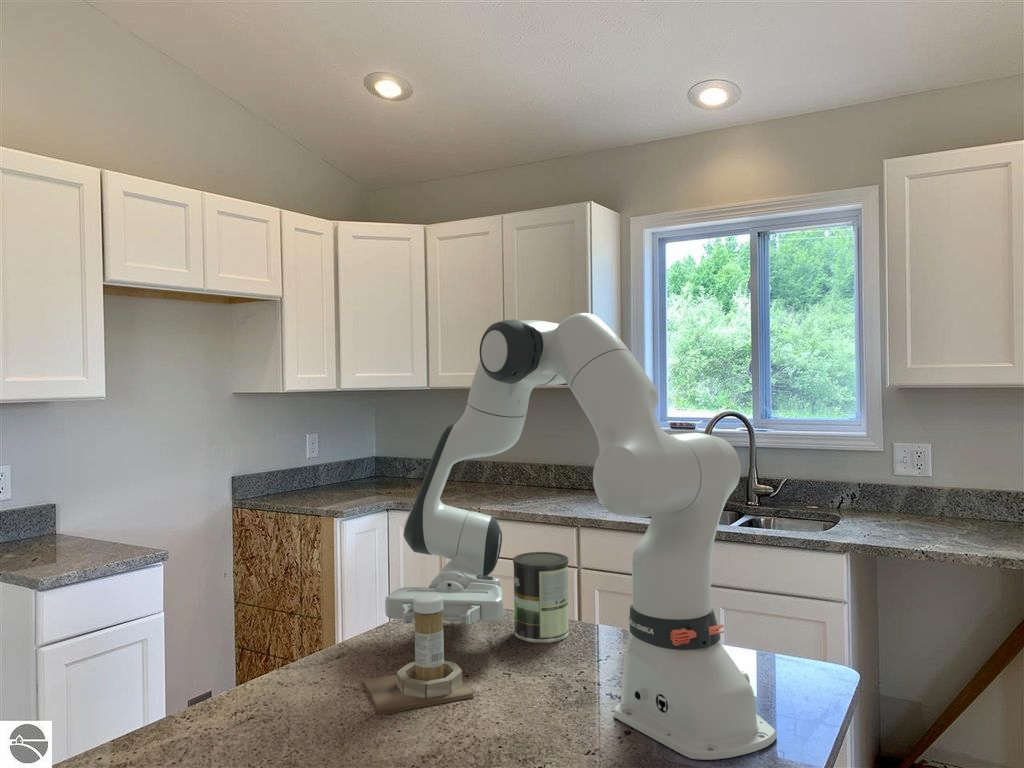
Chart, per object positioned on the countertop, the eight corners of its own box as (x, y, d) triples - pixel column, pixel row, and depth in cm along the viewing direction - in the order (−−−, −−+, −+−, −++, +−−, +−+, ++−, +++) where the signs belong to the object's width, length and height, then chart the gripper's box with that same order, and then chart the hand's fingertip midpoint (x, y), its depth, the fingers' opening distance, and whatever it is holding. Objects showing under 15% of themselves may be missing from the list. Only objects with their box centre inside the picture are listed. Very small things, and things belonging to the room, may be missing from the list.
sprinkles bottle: (438, 676, 118) (436, 591, 118) (449, 686, 114) (447, 598, 114) (410, 681, 116) (409, 595, 116) (420, 692, 112) (419, 603, 112)
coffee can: (511, 642, 135) (510, 564, 134) (516, 624, 145) (515, 551, 145) (568, 644, 134) (567, 565, 133) (570, 625, 144) (569, 551, 144)
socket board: (473, 697, 112) (473, 679, 112) (380, 715, 106) (380, 696, 106) (448, 669, 123) (448, 653, 123) (363, 683, 117) (363, 667, 117)
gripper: (396, 575, 136) (373, 598, 122) (508, 578, 133) (497, 601, 120) (397, 610, 136) (373, 636, 122) (508, 613, 133) (497, 640, 120)
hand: (435, 619), depth 121 cm, fingers open, 8 cm apart
